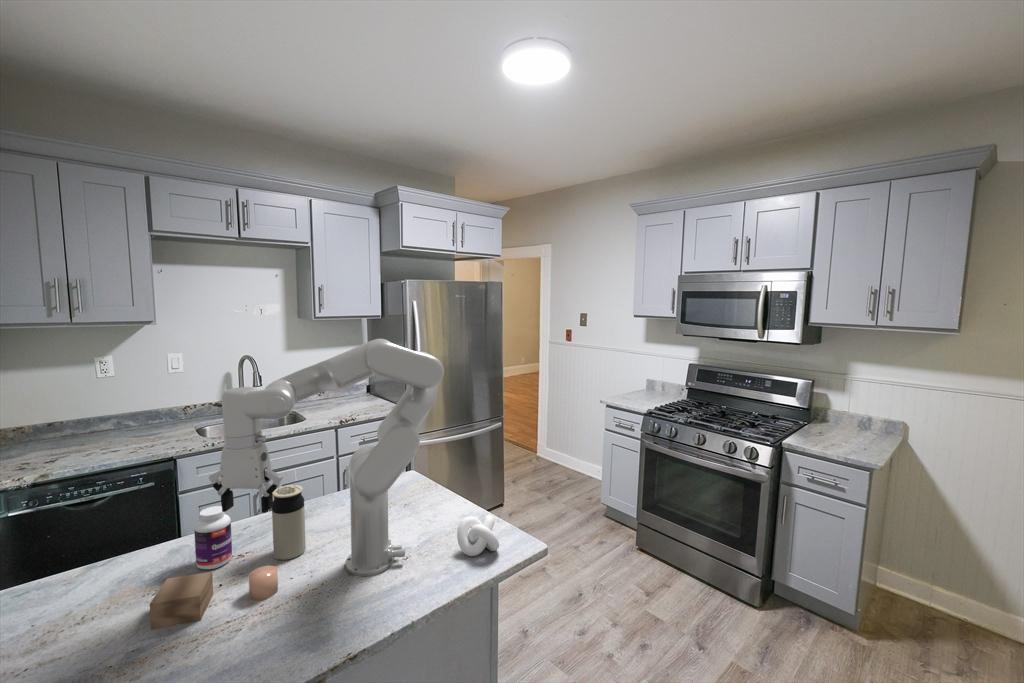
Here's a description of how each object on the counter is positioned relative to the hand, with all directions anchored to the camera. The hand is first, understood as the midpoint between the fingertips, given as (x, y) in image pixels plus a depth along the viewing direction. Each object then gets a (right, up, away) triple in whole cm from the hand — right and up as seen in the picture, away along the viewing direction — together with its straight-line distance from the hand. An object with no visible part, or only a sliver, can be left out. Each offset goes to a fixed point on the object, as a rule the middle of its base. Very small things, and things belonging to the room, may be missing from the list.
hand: (247, 509), depth 107 cm
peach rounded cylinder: (+4, -20, +1) cm, 21 cm away
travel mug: (+2, -19, +17) cm, 26 cm away
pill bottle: (-16, -19, +12) cm, 28 cm away
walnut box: (-11, -21, -6) cm, 24 cm away
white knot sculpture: (+55, -19, +20) cm, 61 cm away
